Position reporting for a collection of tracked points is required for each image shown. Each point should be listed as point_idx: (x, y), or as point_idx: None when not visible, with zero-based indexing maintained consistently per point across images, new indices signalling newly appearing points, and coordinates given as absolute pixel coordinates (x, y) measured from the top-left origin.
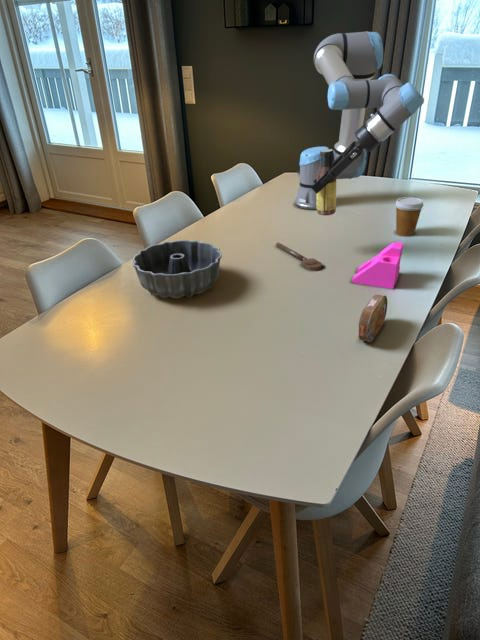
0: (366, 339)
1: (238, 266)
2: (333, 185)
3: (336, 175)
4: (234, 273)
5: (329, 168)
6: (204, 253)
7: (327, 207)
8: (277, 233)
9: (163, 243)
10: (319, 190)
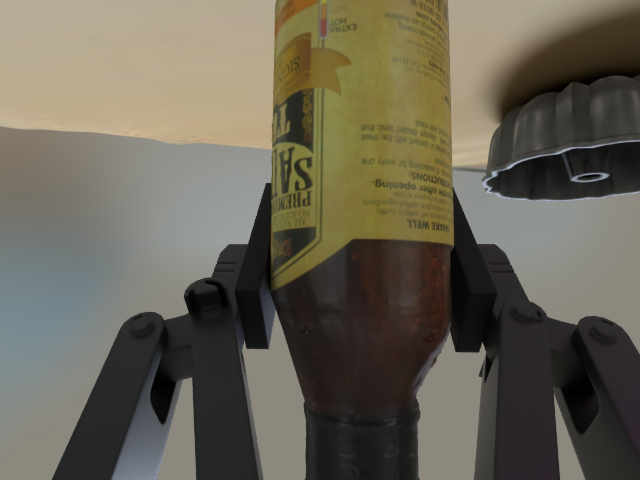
0: None
1: (501, 45)
2: (433, 210)
3: (637, 371)
4: (554, 44)
5: (421, 383)
6: (518, 139)
7: (448, 28)
8: (179, 2)
9: (495, 192)
10: (457, 204)
